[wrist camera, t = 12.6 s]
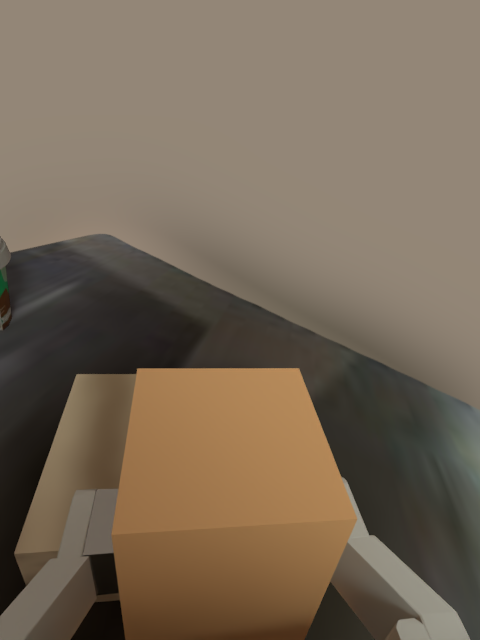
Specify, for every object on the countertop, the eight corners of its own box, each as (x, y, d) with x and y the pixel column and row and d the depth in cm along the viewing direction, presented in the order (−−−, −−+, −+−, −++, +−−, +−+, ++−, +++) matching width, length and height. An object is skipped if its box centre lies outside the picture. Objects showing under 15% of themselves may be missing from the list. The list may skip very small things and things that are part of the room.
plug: (142, 764, 13) (111, 534, 6) (150, 625, 17) (137, 368, 9) (257, 746, 14) (357, 519, 7) (242, 615, 17) (298, 368, 10)
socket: (34, 607, 23) (13, 554, 20) (84, 426, 35) (76, 374, 31) (325, 581, 26) (348, 530, 23) (281, 421, 37) (291, 373, 34)
